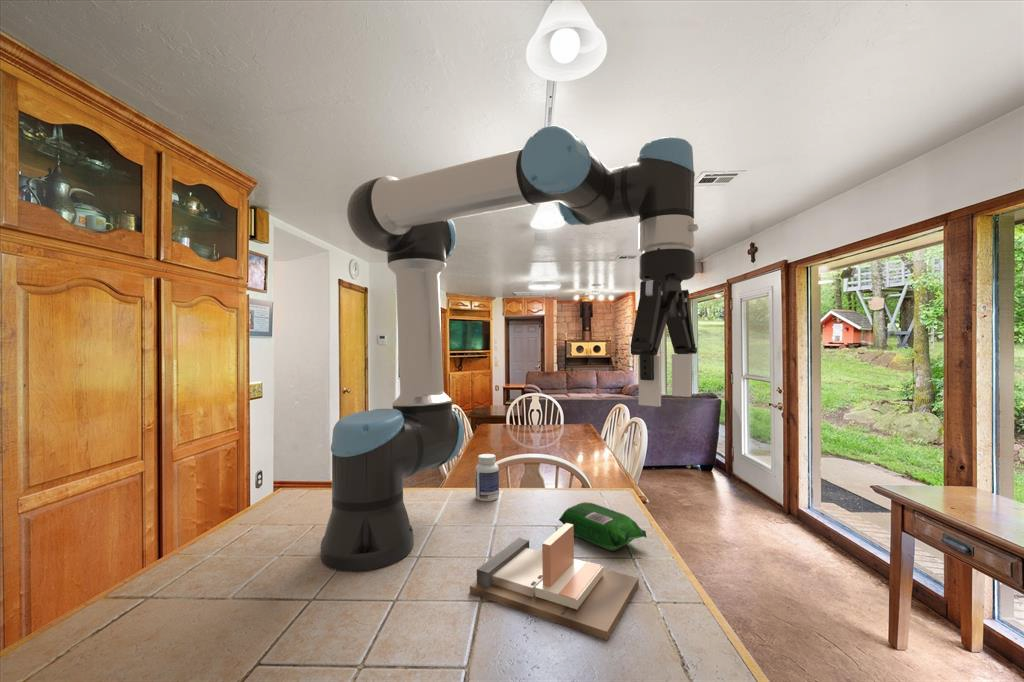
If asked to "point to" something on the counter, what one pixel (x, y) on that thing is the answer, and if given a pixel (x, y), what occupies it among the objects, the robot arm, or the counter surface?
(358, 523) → the robot arm
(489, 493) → the pill bottle
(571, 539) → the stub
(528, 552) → the wooden base board
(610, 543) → the snack package
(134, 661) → the counter surface
